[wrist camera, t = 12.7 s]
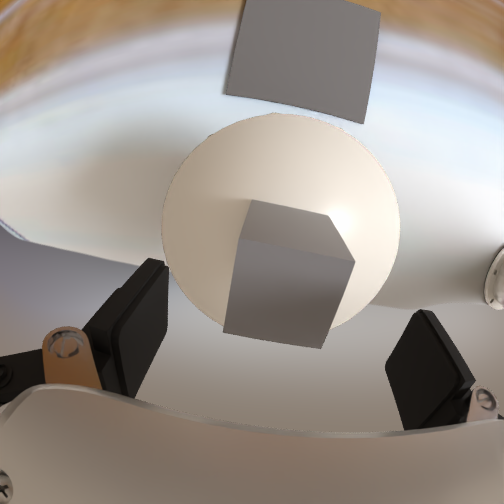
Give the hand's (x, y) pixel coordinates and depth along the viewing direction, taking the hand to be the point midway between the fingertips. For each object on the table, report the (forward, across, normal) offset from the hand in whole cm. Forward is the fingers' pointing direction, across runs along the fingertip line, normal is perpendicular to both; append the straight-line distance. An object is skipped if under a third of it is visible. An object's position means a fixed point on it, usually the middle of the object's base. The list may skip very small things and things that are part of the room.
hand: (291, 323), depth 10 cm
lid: (+11, 0, 0) cm, 11 cm away
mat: (+23, 0, -17) cm, 29 cm away
